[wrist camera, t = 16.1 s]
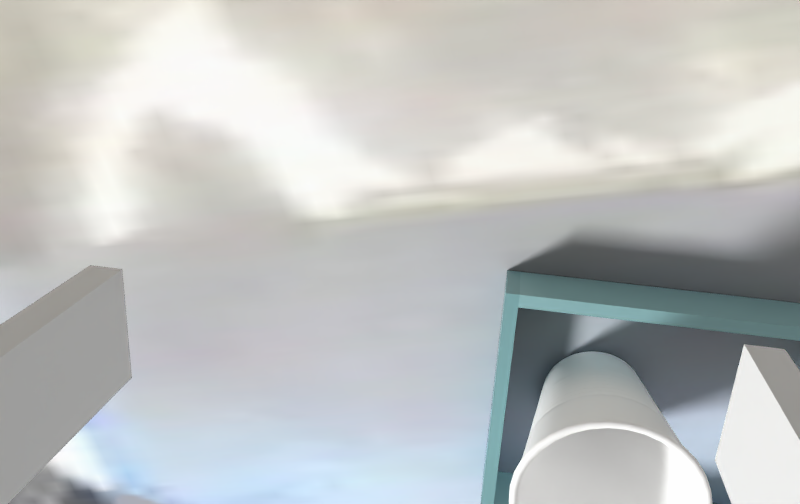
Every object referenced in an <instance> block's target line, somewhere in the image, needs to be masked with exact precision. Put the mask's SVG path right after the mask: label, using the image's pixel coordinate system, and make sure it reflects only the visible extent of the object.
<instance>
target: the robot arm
mask: <svg viewBox="0 0 800 504" xmlns="http://www.w3.org/2000/svg"><path fill="white" fill-rule="evenodd" d="M131 378H132V374H131V362H130V351H129V339H128V328H127V317H126V305H125V294H124V283H123V271H122V269H116V268H108V267H100V266H91V265H90V266H88V267H87V268H85V269H84V270H82V271H81V272H79V273H78V274H76V275H75V276H73V277H72V278H70V279H69V280H67V281H66V282H64V283H63V284H61V285H60V286H58V287H57V288H55V289H54V290H52V291H51V292H49V293H48V294H46V295H45V296H43V297H42V298H40V299H39V300H37V301H36V302H34V303H32V304H31V305H29V306H28V307H26V308H25V309H23V310H22V311H20V312H19V313H17V314H16V315H14V316H13V317H11V318H10V319H8V320H7V321H5V322H4V323H2V324H1V325H0V504H8V503H9V502H10V501H11V500H12V499H13V498H14V497H15V496H16V495H17V494H18V493H19V492H20V491H21V490H22V489H23V488H24V487H25V486H26V484H27V483H28V482H29V481H30V480H31V479H32V478H33V477H34V476H35V475H36V474H37V473H38V472H39V471H40V470H41V469H42V468H43V467H44V466H45V465H46V464H47V463H48V462H49V461H50V460H51V459H52V458H53V457H54V456H55V455H56V454H57V453H58V452H59V451H60V450H61V449H62V448H63V447H64V446H65V445H66V444H67V443H68V442H69V441H70V440H71V439H72V438H73V437H74V436H75V435H76V434H77V433H78V432H79V431H80V430H81V429H82V428H83V427H84V426H85V425H86V424H87V423H88V422H89V421H90V420H91V419H92V418H93V417H94V416H95V415H96V414H97V412H98V411H99V410H100V409H101V408H102V407H103V406H104V405H105V404H106V403H107V402H108V401H109V400H110V399H111V398H112V397H113V396H114V395H115V394H116V393H117V392H118V391H119V390H120V389H121V388H122V387H123V386H124V385H125V384H126V383H127V382H128V381H129V380H130V379H131ZM715 462H716V464H717V467H718V470H719V472H720V475H721V478H722V480H723V483H724V485H725V488H726V491H727V493H728V496H729V499H730V501H731V504H800V370H799V369H798V368H797V366H796V365H795V363H794V362H793V360H792V359H791V357H790V356H789V354H788V353H787V351H786V350H785V349H780V348H772V347H763V346H755V345H747V344H744V346H743V350H742V354H741V358H740V362H739V366H738V370H737V374H736V378H735V382H734V386H733V390H732V394H731V398H730V402H729V406H728V410H727V414H726V418H725V422H724V426H723V429H722V433H721V437H720V441H719V445H718V449H717V453H716V457H715Z"/></svg>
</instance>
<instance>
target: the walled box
mask: <svg viewBox="0 0 800 504" xmlns="http://www.w3.org/2000/svg"><path fill="white" fill-rule="evenodd" d="M518 308H527V309H535V310H544V311H552V312H560V313H569V314H577V315H586V316H594V317H603V318H611V319H619V320H628V321H636V322H645V323H653V324H661V325H670V326H678V327H687V328H695V329H704V330H712V331H720V332H729V333H737V334H746V335H754V336H762V337H771V338H779V339H788V340H796V341H800V303H794V302H785V301H776V300H767V299H758V298H750V297H741V296H732V295H723V294H714V293H705V292H696V291H687V290H678V289H669V288H661V287H652V286H643V285H634V284H625V283H616V282H607V281H598V280H589V279H581V278H572V277H563V276H554V275H545V274H536V273H527V272H518V271H509V270H507V278H506V286H505V295H504V303H503V312H502V320H501V329H500V337H499V346H498V355H497V363H496V372H495V380H494V389H493V397H492V406H491V414H490V423H489V432H488V440H487V449H486V457H485V466H484V474H483V484H482V495H481V504H509V490H510V484H511V480H512V477H513V473H506V472H500V471H498V465H499V457H500V449H501V441H502V433H503V425H504V417H505V409H506V401H507V393H508V385H509V377H510V369H511V361H512V353H513V345H514V337H515V329H516V321H517V313H518ZM712 504H715V503H712Z"/></svg>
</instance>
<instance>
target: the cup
mask: <svg viewBox="0 0 800 504" xmlns="http://www.w3.org/2000/svg"><path fill="white" fill-rule="evenodd" d="M509 504H712V494H711V488H710V485H709V482H708V479H707V476H706V474H705V472H704V471H703V469H702V467H701V466H700V464H699V463H698V461H697V459H696V458H695V457H694V456H693V455H692V454H691V453H690V452H689V451H688V450H687V449H686V448H685V447H684V446H683V445H682V444H681V443H680V441H679V440H678V438H677V436H676V435H675V433H674V432H673V430H672V429H671V427H670V425H669V424H668V423H667V421H666V419H665V418H664V416H663V415H662V413H661V412H660V410H659V408H658V407H657V405H656V404H655V402H654V401H653V399H652V397H651V396H650V394H649V393H648V391H647V390H646V388H645V386H644V385H643V383H642V382H641V380H640V379H639V377H638V375H637V374H636V372H635V371H634V370H633V369H632V368H631V366H630V365H629V364H627V363H626V362H625V361H623V360H622V359H620V358H618V357H616V356H613V355H611V354H607V353H603V352H594V351H589V352H581V353H577V354H573V355H571V356H569V357H566V358H564V359H563V360H561V361H560V362H559V363H557V364H556V365H555V366H554V367H553V368H552V369H551V370H550V372H549V373H548V375H547V377H546V379H545V382H544V385H543V388H542V392H541V395H540V399H539V403H538V406H537V409H536V413H535V416H534V420H533V423H532V427H531V430H530V434H529V437H528V441H527V444H526V447H525V450H524V454H523V457H522V459H521V461H520V463H519V464H518V466H517V468H516V469H515V471H514V474H513V477H512V480H511V484H510V490H509Z"/></svg>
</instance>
